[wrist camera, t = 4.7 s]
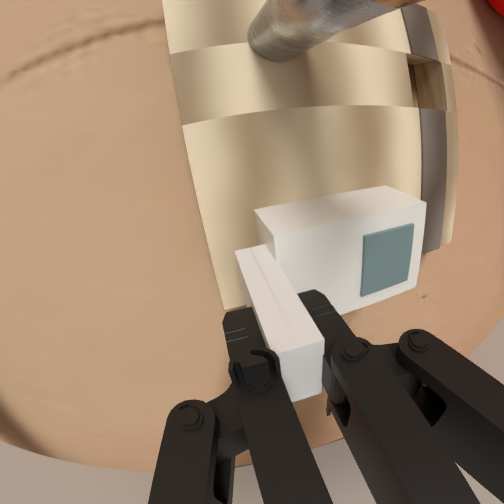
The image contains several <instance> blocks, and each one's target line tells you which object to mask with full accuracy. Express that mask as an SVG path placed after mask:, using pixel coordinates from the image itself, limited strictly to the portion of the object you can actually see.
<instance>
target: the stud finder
mask: <svg viewBox="0 0 504 504" xmlns="http://www.w3.org/2000/svg"><path fill="white" fill-rule="evenodd" d="M254 214H255V220H256V227H257V233H258V240H259V245H263V244H265V245H266V246H267V248H268V250H269V251H270V253H271V254H272V256H273V258H274V259H275V261H276V262H277V263H278V265H279V266H280V268H281V269H282V271H283V273H284V274H285V276H286V277H287V279H288V281H289V282H290V284H291V285H292V287H293V289H294V290H295V292H296V293H297V294H298V293H302V292H305V291H309V290H312V289H315V290H317V291H319V292H321V293H323V294H324V295H325V296H326V297H327V298H328V300H329V301H330V302H331V305H333V306H334V308H335V309H336V311H337V312H338V313H339V315H342V314H345V313H348V312H351V311H353V310H356V309H359V308H362V307H365V306H368V305H370V304H373V303H376V302H378V301H381V300H384V299H386V298H389V297H392V296H394V295H397V294H399V293H402V292H404V291H407V290H409V289H412V288H414V287H416V282H417V277H418V271H419V265H420V259H421V252H422V244H423V236H424V227H425V216H426V202H424V201H422V200H420V199H417V198H415V197H413V196H410V195H408V194H406V193H403V192H401V191H399V190H396V189H394V188H391V187H389V186H379V187H373V188H367V189H361V190H355V191H349V192H343V193H337V194H332V195H326V196H321V197H315V198H310V199H305V200H299V201H294V202H289V203H284V204H279V205H274V206H269V207H264V208H260V209H255V210H254Z"/></svg>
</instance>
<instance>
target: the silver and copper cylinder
mask: <svg viewBox="0 0 504 504" xmlns="http://www.w3.org/2000/svg"><path fill="white" fill-rule="evenodd" d="M421 1H425V0H267V1H266V2H265V4H264V5H263V6H262V8H261V9H260V11H259V12H258V14H257V15H256V17H255V18H254V20H253V21H252V23H251V24H250V26H249V28H248V32H247V39H248V43H249V45H250V47H251V48H252V50H253V51H254V52H255V53H256V54H257V55H259V56H260V57H262V58H263V59H266V60H268V61H272V62H287V61H290V60H292V59H294V58H296V57H298V56H299V55H301V54H303V53H305V52H306V51H308V50H310V49H312V48H314V47H315V46H317V45H319V44H321V43H323V42H325V41H327V40H329V39H331V38H333V37H335V36H337V35H339V34H341V33H343V32H345V31H347V30H349V29H351V28H353V27H356V26H358V25H360V24H362V23H365V22H367V21H369V20H372V19H374V18H376V17H379V16H381V15H384V14H386V13H389V12H392V11H394V10H397V9H400V8H403V7H406V6H409V5H412V4H415V3H418V2H421Z"/></svg>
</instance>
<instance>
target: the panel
mask: <svg viewBox="0 0 504 504" xmlns="http://www.w3.org/2000/svg"><path fill="white" fill-rule="evenodd" d="M162 1H163V9H164V17H165V24H166V32H167V39H168V46H169V52H170V59H171V65H172V71H173V77H174V83H175V89H176V95H177V101H178V106H179V112H180V117H181V122H182V128H183V133H184V138H185V143H186V148H187V153H188V158H189V163H190V167H191V172H192V177H193V181H194V186H195V191H196V195H197V200H198V204H199V209H200V213H201V217H202V222H203V226H204V230H205V234H206V238H207V243H208V247H209V251H210V255H211V259H212V263H213V267H214V271H215V275H216V279H217V283H218V286H219V290H220V294H221V298H222V302H223V305H224V309H225V310H228V309H232V308H236V307H240V306H244V305H246V303H245V300H244V296H243V291H242V286H241V281H240V276H239V271H238V267H237V262H236V257H235V252H234V251H237V250H241V249H246V248H250V247H254V246H259V240H258V233H257V227H256V220H255V214H254V210H255V209H260V208H264V207H269V206H274V205H279V204H284V203H289V202H294V201H299V200H305V199H310V198H315V197H321V196H326V195H332V194H337V193H343V192H349V191H355V190H361V189H367V188H373V187H379V186H389V187H391V188H394V189H396V190H399V191H401V192H403V193H406V194H408V195H410V196H413V197H415V198H417V199H420V200H422V201H424V202H426V216H425V227H424V236H423V244H422V252H421V255H422V254H425V253H428V252H430V251H433V250H436V249H439V248H440V246H442V245H445V244H448V243H450V242H451V237H452V230H453V223H454V214H455V205H456V194H457V178H458V125H457V109H456V98H455V89H454V82H453V75H452V68H451V62H450V57H449V52H448V47H447V43H446V38H445V34H444V30H443V26H442V22H441V19H440V15H439V14H437V13H434V12H432V11H430V10H427V9H426V8H425V7H423V6H420V5H418V4H412V5H409V6H406V7H403V8H400V9H397V10H394V11H392V12H389V13H386V14H384V15H381V16H379V17H376V18H374V19H372V20H369V21H367V22H365V23H362V24H360V25H358V26H356V27H353V28H351V29H349V30H347V31H345V32H343V33H341V34H339V35H337V36H335V37H333V38H331V39H329V40H327V41H325V42H323V43H321V44H319V45H317V46H315V47H314V48H312V49H310V50H308V51H306V52H305V53H303V54H301V55H299V56H298V57H296V58H294V59H292V60H290V61H287V62H272V61H268V60H266V59H263V58H262V57H260V56H259V55H257V54H256V53H255V52H254V51H253V50H252V48H251V47H250V45H249V43H248V39H247V32H248V28H249V26H250V24H251V23H252V21H253V20H254V18H255V17H256V15H257V14H258V12H259V11H260V9H261V8H262V6H263V5H264V4H265V2H266V1H267V0H162ZM408 64H412V65H413V67H414V73H415V79H416V87H417V95H418V104H419V108H414V107H413V99H412V90H411V83H410V76H409V69H408Z"/></svg>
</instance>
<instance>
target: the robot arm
mask: <svg viewBox="0 0 504 504" xmlns="http://www.w3.org/2000/svg"><path fill="white" fill-rule="evenodd" d="M234 252H235V257H236V262H237V267H238V271H239V276H240V281H241V286H242V291H243V296H244V300H245V303H246V306H247V308H244V309H239V310H235V311H231V312H227V313H226V314H225V317H224V319H223V322H222V323H223V329H224V333H225V339H226V344H227V348H228V353H229V358H230V362H229V369H228V371H229V374H230V377H231V380H232V383H231V385H230V387H229V388H228V389H227V390H226V391H225V392H224V393H223V394H222V395H220V396H219V397H217V398H215V399H213V400H211V401H209V402H207V403H205V402H204V401H200V400H195V399H194V400H186V401H183V402H181V403H179V404H177V405H176V406H175V407H174V408H173V409H172V410H171V411H170V413H169V415H168V418H167V422H166V426H165V430H164V434H163V438H162V442H161V446H160V451H159V455H158V459H157V464H156V468H155V473H154V477H153V482H152V487H151V492H150V497H149V501H148V504H232V497H233V483H234V482H233V481H234V469H235V456H236V455H238V454H240V453H242V452H244V451H245V450H247V449H249V451H250V454H251V458H252V462H253V466H254V469H255V473H256V477H257V480H258V484H259V488H260V491H261V495H262V498H263V502H264V504H333V502H332V500H331V497H330V495H329V492H328V490H327V488H326V485H325V483H324V480H323V478H322V476H321V473H320V471H319V468H318V466H317V464H316V461H315V459H314V456H313V454H312V452H311V449H310V446H309V444H308V441H307V439H306V436H305V434H304V431H303V429H302V426H301V424H300V421H299V419H298V416H297V414H296V411H295V409H294V406H293V404H292V402H295V401H299V400H302V399H305V398H308V397H311V396H314V395H317V394H320V393H322V388H323V386H324V388H325V390H326V392H327V394H328V398H327V408H326V412H327V416H329V415H330V413H331V412H332V414H333V416H334V418H335V420H336V422H337V424H338V426H339V428H340V430H341V432H342V434H343V436H344V438H345V440H346V442H347V444H348V446H349V448H350V450H351V452H352V454H353V456H354V458H355V460H356V463H357V465H358V467H359V469H360V471H361V473H362V475H363V477H364V479H365V481H366V483H367V485H368V487H369V489H370V491H371V493H372V495H373V497H374V499H375V501H376V503H377V504H480V502H479V501H478V499H477V497H476V496H475V494H474V492H473V491H472V489H471V487H470V486H469V484H468V482H467V481H466V479H465V478H464V476H463V474H462V473H461V471H460V470H459V468H458V467H457V465H456V463H457V464H458V465H459V466H460V467H462V468H463V469H464V470H465V471H466V472H467V473H468V474H469V475H471V476H472V477H473V478H474V479H475V480H476V481H478V482H479V483H480V484H481V485H482V486H484V487H485V488H486V489H487V490H488V491H489V492H491V493H492V494H493V495H494V496H496V497H497V498H498V499H499V500H500V501H501V502H503V503H504V385H503V384H502V383H500V382H499V381H498V380H496V379H495V378H493V377H492V376H491V375H489V374H488V373H486V372H485V371H484V370H482V369H481V368H480V367H478V366H477V365H475V364H474V363H473V362H471V361H470V360H468V359H467V358H466V357H464V356H463V355H461V354H460V353H458V352H457V351H456V350H454V349H453V348H451V347H450V346H448V345H447V344H446V343H444V342H443V341H441V340H440V339H438V338H437V337H435V336H434V335H432V334H431V333H429V332H427V331H425V330H421V329H412V330H408V331H406V332H404V333H403V334H402V336H401V337H400V339H399V342H398V343H392V344H385V345H372V344H371V343H370V342H369V341H367V340H365V339H363V338H360V337H356V336H355V335H354V334H353V332H352V331H351V329H350V328H349V327H348V325H347V324H346V323H345V321H344V320H343V319H342V317H341V316H340V315H339V313H338V312H337V311H336V309H335V308H334V306H333V305H331V302H330V301H329V300H328V298H327V297H326V296H325V295H324V294H323V293H321V292H319V291H317V290H315V289H312V290H309V291H305V292H302V293H298V294H297V293H296V292H295V290H294V289H293V287H292V285H291V284H290V282H289V281H288V279H287V277H286V276H285V274H284V273H283V271H282V269H281V268H280V266H279V265H278V263H277V262H276V261H275V259H274V258H273V256H272V254H271V253H270V251H269V250H268V248H267V246H266V245H265V244H263V245H259V246H254V247H250V248H246V249H241V250H237V251H234ZM455 462H456V463H455Z"/></svg>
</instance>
